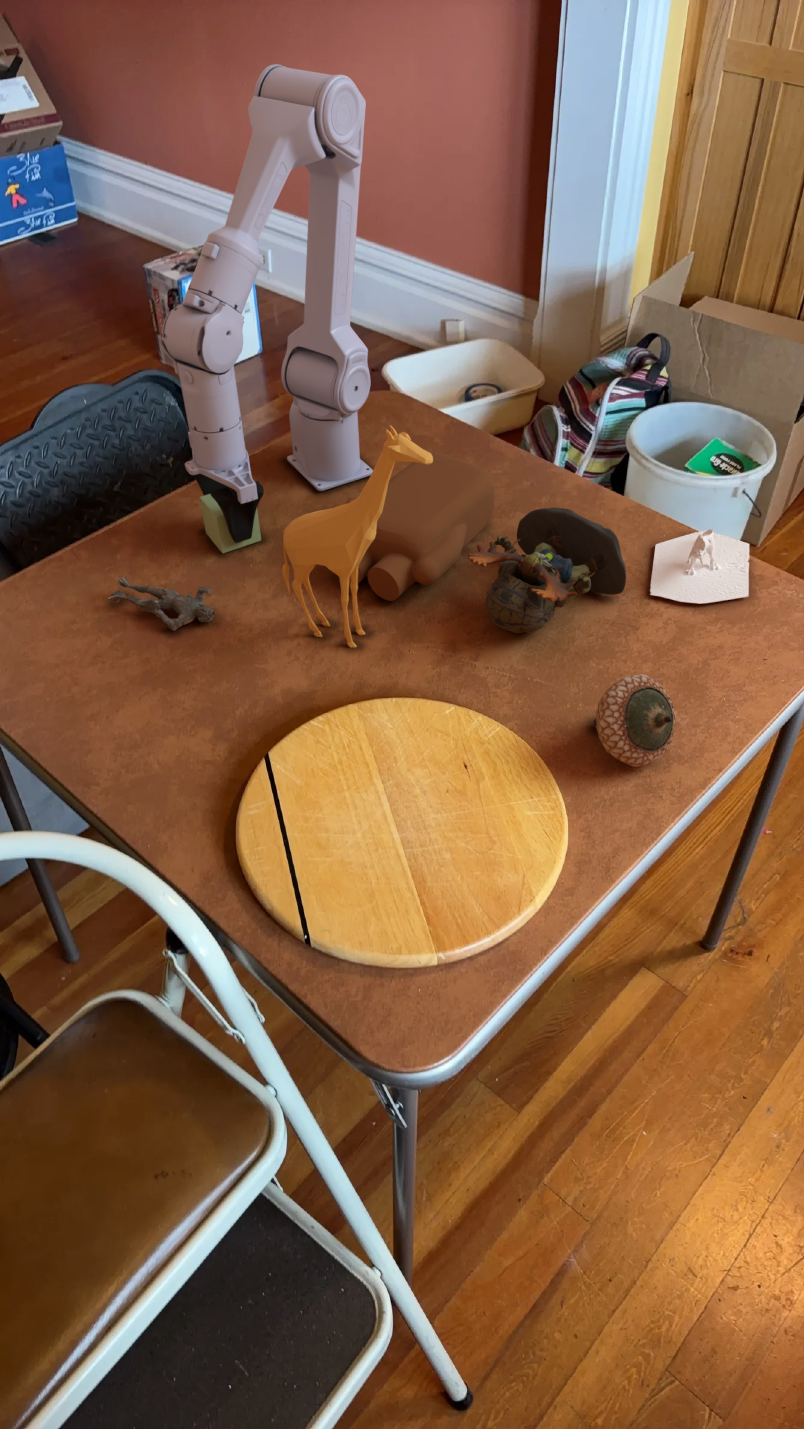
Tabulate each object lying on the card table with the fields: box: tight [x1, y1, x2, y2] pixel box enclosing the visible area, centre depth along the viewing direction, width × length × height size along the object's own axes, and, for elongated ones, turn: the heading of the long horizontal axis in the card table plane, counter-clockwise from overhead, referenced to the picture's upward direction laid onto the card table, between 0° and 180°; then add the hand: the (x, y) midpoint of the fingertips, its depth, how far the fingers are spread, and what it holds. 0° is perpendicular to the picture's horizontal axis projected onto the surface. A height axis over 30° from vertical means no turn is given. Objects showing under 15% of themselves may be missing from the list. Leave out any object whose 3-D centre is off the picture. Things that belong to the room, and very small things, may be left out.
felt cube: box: [199, 494, 262, 554], centre depth 116 cm, size 5×5×5 cm
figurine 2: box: [467, 506, 627, 634], centre depth 104 cm, size 14×10×18 cm
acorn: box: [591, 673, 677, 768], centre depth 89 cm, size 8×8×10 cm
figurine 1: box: [107, 575, 216, 632], centre depth 106 cm, size 6×4×12 cm
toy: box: [337, 452, 496, 602], centre depth 112 cm, size 15×8×20 cm
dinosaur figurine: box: [649, 529, 750, 605], centre depth 109 cm, size 15×12×6 cm
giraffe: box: [281, 424, 433, 649], centre depth 95 cm, size 16×4×25 cm, turn 67°
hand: (231, 526), depth 116 cm, fingers open, 5 cm apart
